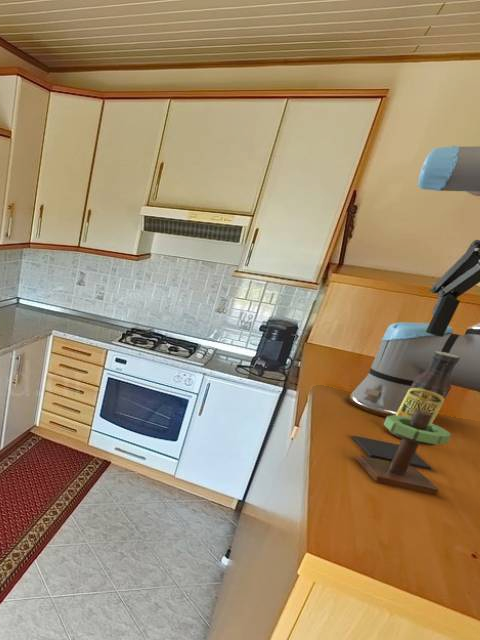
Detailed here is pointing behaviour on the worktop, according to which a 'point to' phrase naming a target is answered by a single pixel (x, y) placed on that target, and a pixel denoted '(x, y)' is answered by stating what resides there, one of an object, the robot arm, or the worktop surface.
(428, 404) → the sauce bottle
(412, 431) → the ring
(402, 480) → the peg stand
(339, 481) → the worktop surface
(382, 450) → the mat
